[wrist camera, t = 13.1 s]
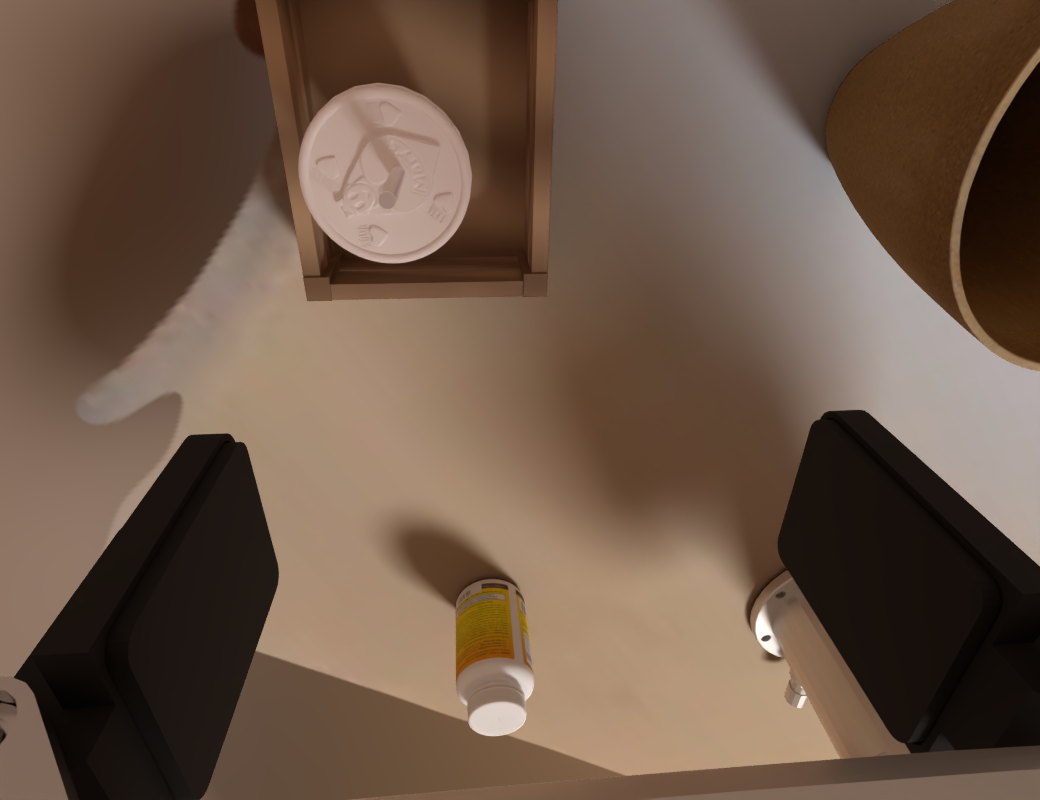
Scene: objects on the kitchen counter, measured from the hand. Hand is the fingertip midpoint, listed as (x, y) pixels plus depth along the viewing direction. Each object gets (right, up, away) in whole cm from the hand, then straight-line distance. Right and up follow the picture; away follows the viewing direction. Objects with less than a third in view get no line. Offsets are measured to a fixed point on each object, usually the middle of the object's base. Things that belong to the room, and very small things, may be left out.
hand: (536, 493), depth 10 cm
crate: (-5, +15, +21) cm, 27 cm away
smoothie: (-6, +15, +21) cm, 26 cm away
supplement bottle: (-3, -15, +39) cm, 42 cm away
